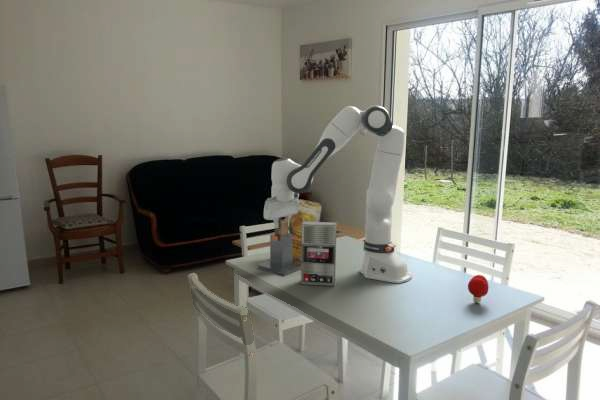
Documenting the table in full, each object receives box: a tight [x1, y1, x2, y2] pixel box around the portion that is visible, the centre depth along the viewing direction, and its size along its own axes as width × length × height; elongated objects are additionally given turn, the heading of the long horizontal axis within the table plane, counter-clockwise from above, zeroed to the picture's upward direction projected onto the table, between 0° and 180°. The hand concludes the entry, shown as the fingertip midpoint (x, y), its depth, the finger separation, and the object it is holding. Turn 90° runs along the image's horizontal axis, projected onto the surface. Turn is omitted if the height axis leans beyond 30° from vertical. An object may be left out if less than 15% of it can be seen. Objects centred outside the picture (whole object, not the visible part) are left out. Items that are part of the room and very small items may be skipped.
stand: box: [257, 232, 301, 277], centre depth 206 cm, size 16×14×16 cm
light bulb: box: [467, 274, 489, 304], centre depth 170 cm, size 9×7×10 cm
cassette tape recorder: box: [300, 221, 338, 287], centre depth 186 cm, size 14×6×25 cm, turn 83°
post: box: [274, 218, 289, 236], centre depth 205 cm, size 4×4×20 cm
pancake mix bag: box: [288, 198, 323, 260], centre depth 220 cm, size 7×19×28 cm, turn 48°
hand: (281, 226), depth 204 cm, fingers closed on post, 4 cm apart
